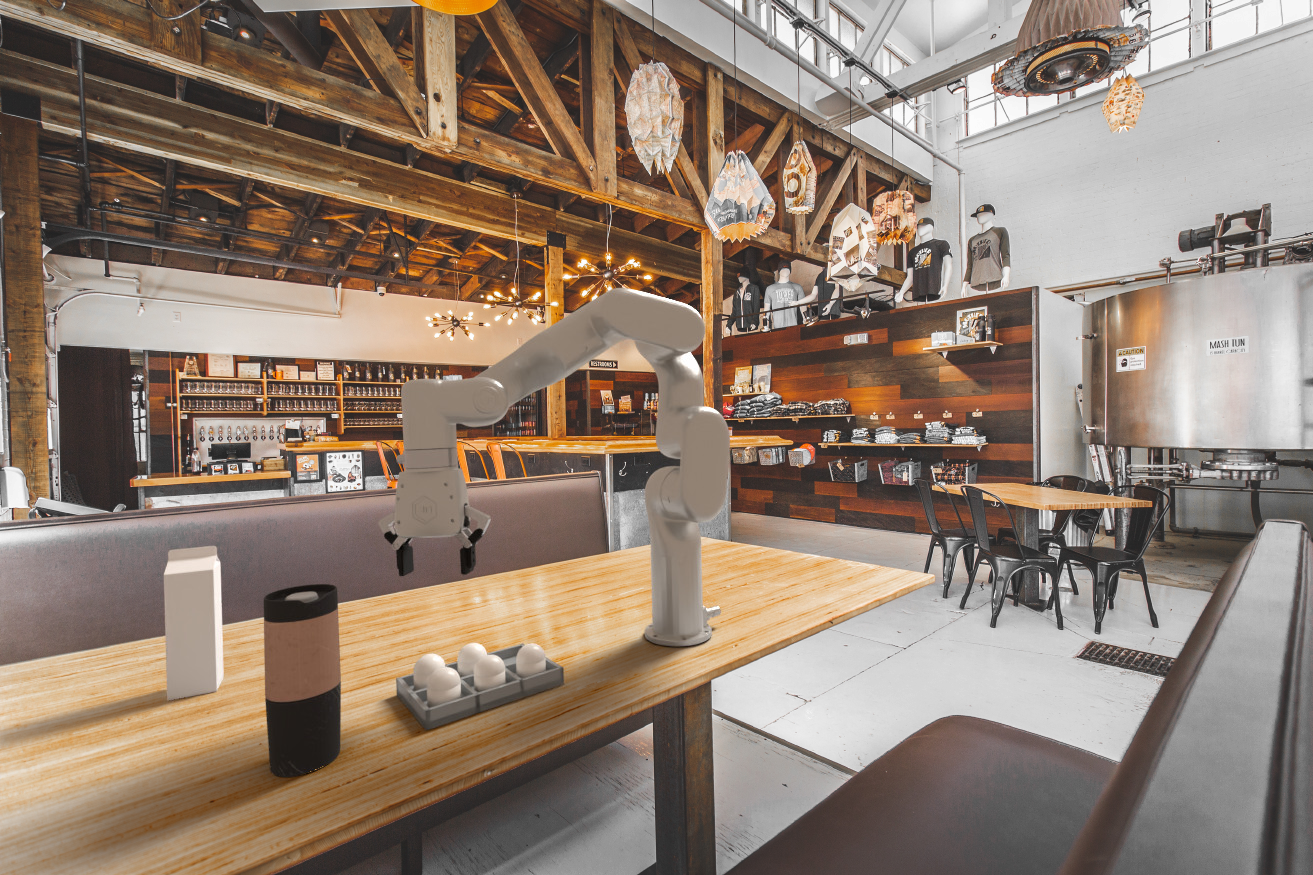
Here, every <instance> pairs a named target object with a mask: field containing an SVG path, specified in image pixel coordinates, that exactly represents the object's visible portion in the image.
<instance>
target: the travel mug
mask: <svg viewBox="0 0 1313 875" xmlns="http://www.w3.org/2000/svg"><path fill="white" fill-rule="evenodd" d="M338 595H339V594H338V587H337V586H336V585H334V584H329V583H327V584H326V583H316V584H303V585H298V586H291V587H287V588H282V589H280V590H279V589H278V590H275V591H273V592H270V593H267V594H266V595H264V597H263V640H264V641H263V643H264V644H263V645H264V646H263V647H264V648H263V649H264V651H263V653H264V654H263V655H264V657H263V658H264V695H265V697H264V700H265V714H266V728H267V729H266V731H267V743H268V744H267V745H268V758H269V759H268V760H269V767H270V772H271V774H272V773H273V774H272V775H274V776H275V775H276V777H279V776H280V778H293V776H294V777H299V776H298V775H300V776H302V775H301V774H304V775H306V774H305V773H308V772H310V771H314V770H315V769H318V768H320V767H322V766H325V765H326V764H328V765H330V764H331V763H332V762H334V761H335V760H336V759H337V758H338V756H339V755H340V752H341V733H342V732H341V725H342V724H341V723H342V722H341V721H342V720H341V719H342V718H341V717H342V716H341V714H342V711H341V710H342V708H341V706H342V703H341V702H342V682H341V679H342V676H341V674H342V673H341V650H340V648H341V646H340V626H339V625H340V624H339V623H340V622H339V597H338ZM329 763H330V764H329ZM326 766H327V765H326ZM326 766H325V767H326ZM318 770H319V769H318ZM314 772H315V771H314ZM308 774H309V773H308Z"/></svg>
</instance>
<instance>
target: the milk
mask: <svg viewBox="0 0 1313 875" xmlns="http://www.w3.org/2000/svg"><path fill="white" fill-rule="evenodd" d="M167 558H168V559H167V563H166V566H165V568H164V569H165V570H164V572H163V592H164V593H163V595H164V596H163V598H164V632H165V660H166V661H165V664H166V666H165V667H166V668H165V669H166V698H167V700H166V701H168V700H170V701H174V699H175V700H178V699H179V698H180V699H183V698H184V697H185V698H190V697H195V696H199V695H200V696H201V695H206V694H210V693H216V692H218V690H219V687H221V686H220V685H221V683H222V682H223V679H224V677H225V676H224V675H225V673H224V643H223V641H224V640H223V638H224V637H223V608H222V606H223V605H222V573H221V572H222V571H221V570H222V568H221V566H222V565H221V561H220V558H219V557H218V548H217V546H215V545H208V546H198V547H189V548H188V547H187V548H186V547H185V548H178V549H176V548H175V549H169V551H168V552H167Z"/></svg>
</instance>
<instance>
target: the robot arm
mask: <svg viewBox="0 0 1313 875" xmlns="http://www.w3.org/2000/svg"><path fill="white" fill-rule="evenodd" d="M705 326H706V325H705V322H704V319H703V317H702V316H701V314H700V313H699V311H697V309H695V308H694V307H692V306H691V305H688V304H687V303H684V302H681V301H676V300H674V299H669V298H666V297H662V296H658V295H656V294H651V293H648V292H645V291H641V290H637V289H632V288H625V287H616V288H612V289H610V290H607V291H606V292H604V293H603V294H601V295H599V296H598V297H596V298H594V299H592V300H591V301H589V302H587V303H586V304H585V305H582V306H581V307H579V308H578V309H576V310H574V311H573V312H572V313H570V314H568V315H567V316H565V317H563V318H562V319H560V320H558V321H557V322H555V323H553V324H552V325H551V326H549V327H547V328H546V329H544V330H543V331H541V332H538V333H537V334H535V335H534V336H532V337H531V338H530V339H528V340H527V341H526V342H524V343H523V344H521V345H520V346H519V347H517V349H516V350H514V351H513V352H511V354H509V355H507V356H505V357H504V358H502V359H501V360H499V361H498V362H496V363H495V364H493V365H491V366H490V367H488V368H487V369H485V370H484V371H482V372H480V373H478V374H477V375H475V376H474V377H470V378H463V379H453V380H445V379H440V378H419V379H410V380H407V381H405V383H403V384H402V386H401V389H400V391H401V392H400V394H401V395H400V400H401V412H402V413H401V418H402V420H401V421H402V434H403V435H402V436H403V437H402V438H403V439H402V440H403V451H402V454H398V455H396V463H397V464H401V465H403V468H404V471H400V472H399V473H398V477H397V483H396V490H395V491H396V492H395V499H394V500H395V504H394V511H393V512H391V513H390V514H387V515H386V516H385V517H382V518H381V519H379V520H378V522H377V525H378V526H379V529H380V531H381V533H382V534H383V536H384V539H385V540H386V541H387V542H388V543H389V544H390V545H391V548H392V549H393V550H394V551H395V554H396V555H395V556H396V569H397V570H398V576H399V577H404V576H407V575H410V574H411V573H412V572H414V570H415V569H414V568H415V566H414V564H415V563H414V548H413V545H410V543H411V542H412V541H413V539H427V538H428V539H429V538H430V539H431V538H435V539H436V538H450V537H455V538H456V539H457V540H458V542H459V543H460V544H461V545H462V547H461V548H460V549H459V558H460V560H459V562H460V574H461V575H463V576H465V575H468V574H470V573H471V572H473V571H474V569H475V567H476V565H477V564H476V563H477V558H476V545H477V544H478V542H480V540H481V539H482V538H483V537H484V535H486V533H487V532H486V531H487V529H488V527H489V525H490V523H491V520H492V517H491V515H489V514H486V513H485V512H482V511H481V510H479V509H476V508H475V507H472V506H470V500H469V492H468V488H467V483H466V478H465V474H464V472H463V469H462V468H459V463H458V461H459V460H458V459H459V458H458V443H457V442H458V440H457V439H458V438H457V424H461V425H464V426H466V427H469V428H470V427H471V428H478V427H487V426H491V425H494V424H496V423H497V422H499V421H500V420H502V419H503V418H504V417H505V416H506V415H507V413H508V411H509V408H510V407H512V406H513V405H514V404H516V403H518V402H519V401H521V400H523V399H524V398H526V397H528V396H530V395H531V394H533V393H535V392H537V391H539V390H541V389H542V390H543V389H544V388H547V387H549V386H552V385H555V384H557V383H559V382H560V381H562V380H563V379H566V378H567V377H569V376H571V375H573V373H575V372H576V371H578V370H579V369H580V368H582V367H584V366H585V365H587V364H588V363H590V362H591V361H592V360H594V359H596V358H597V357H599V356H600V355H602V354H603V353H605V352H607V350H609V349H610V348H612V347H613V346H615V345H616V344H618V343H620V342H624V341H626V340H632V341H634V344H635V347H636V350H637V351H638V353H640V355H641V356H642V357H643V358H644V359H645V360H646V361H647V362H648V363H649V364H650V365H651V367H652V369H653V370H654V373H655V374H656V377H657V381H658V401H657V411H656V412H657V415H656V424H655V425H656V427H655V443H656V446H657V449H658V450H659V452H660V453H661V454H662V455H663V456H665V457H667V458H670V459H675V460H680V462H679V465H670V466H664V467H661V468H658V469H657V470H655V471H654V472H653V473H652V474H651V475H650V476H649V478H648V479H647V481H646V484H645V489H644V501H645V502H644V504H645V509H646V513H647V518H648V525H649V526H648V527H649V535H650V536H649V537H650V539H649V541H650V543H649V544H650V573H651V574H650V576H651V577H650V578H651V583H650V585H651V616H652V619H651V620H652V622H651V623H649V624H648V625H646V627H645V628H644V638H646V640H647V641H649V642H650V643H652V644H656V645H658V646H664V647H665V646H666V647H688V646H689V647H690V646H694V645H698V644H702V643H703V642H706V641H708V640H710V638H712V635H713V632H712V631H713V628H712V627H711V625H710V624H708V621H710V619H711V618H715V617H718V616H721V614H722V613H721V612H722V610H721V608H720V606H718V605H714V606H711V607H708V608H707V607H706V606H705V605H704V602H703V598H704V597H703V571H702V570H703V569H702V565H703V564H702V562H703V561H702V536H701V530H700V527H699V524H700V523H701V524H702V523H706V522H707V523H708V522H710V521H712V520H714V519H715V518H717V516H718V515H719V514H720V513H721V511H722V510H723V508H724V504H725V501H726V497H727V490H728V480H729V479H728V475H729V463H730V450H731V448H730V446H731V438H730V430H729V426H728V423H727V421H726V420H725V418H724V416H723V415H722V414H721V413H720V412H719V411H718V410H717V409H714V408H713V407H710V406H704V391H705V390H704V386H705V385H704V383H705V382H704V376H703V373H702V370H701V367H700V365H699V364H698V361H697V359H696V358H695V357H694V356H693V354H692V352H694V351H696V350H697V349H698V348H699V346H700V345H701V344H702V342H703V340H704V338H705V335H706V327H705ZM471 520H474V521H476V522H477V525H476V528H475V530H474V531H473V532H472V530H471V529H470V527H471ZM393 524H394V526H393Z"/></svg>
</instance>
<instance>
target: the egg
mask: <svg viewBox="0 0 1313 875" xmlns="http://www.w3.org/2000/svg"><path fill="white" fill-rule="evenodd" d="M445 665H446V663H445V660H444V658H443V657H441V656H440V655H439V654H436V653H427V654H424V655H422V656H421V657H419V659H417V660H416V662H415V664H414V667H413V670H412V671H413V673H412V674H413V678H414V691H417V690H421V689H424V688H427V682H428V679H429V677H430V676H431V674H432V673H433V672H434V671H436V670H437V669H439V668H442V667H445Z"/></svg>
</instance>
